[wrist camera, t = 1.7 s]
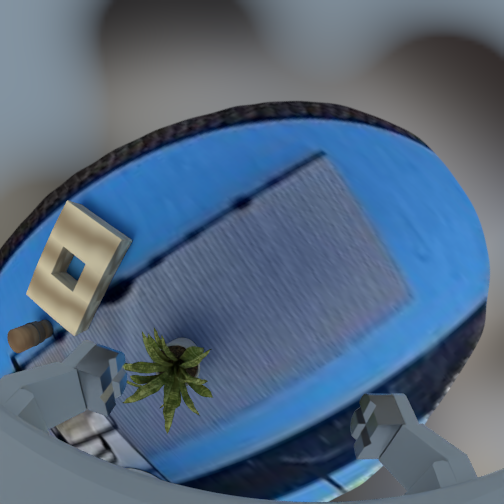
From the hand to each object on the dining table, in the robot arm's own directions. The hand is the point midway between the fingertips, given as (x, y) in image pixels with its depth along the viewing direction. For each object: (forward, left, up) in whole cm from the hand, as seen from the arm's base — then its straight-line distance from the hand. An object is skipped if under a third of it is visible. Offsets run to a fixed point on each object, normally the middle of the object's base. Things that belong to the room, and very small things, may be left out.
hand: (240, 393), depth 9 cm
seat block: (-13, +24, -38) cm, 47 cm away
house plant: (-14, +2, -38) cm, 41 cm away
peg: (-28, +26, -38) cm, 54 cm away
